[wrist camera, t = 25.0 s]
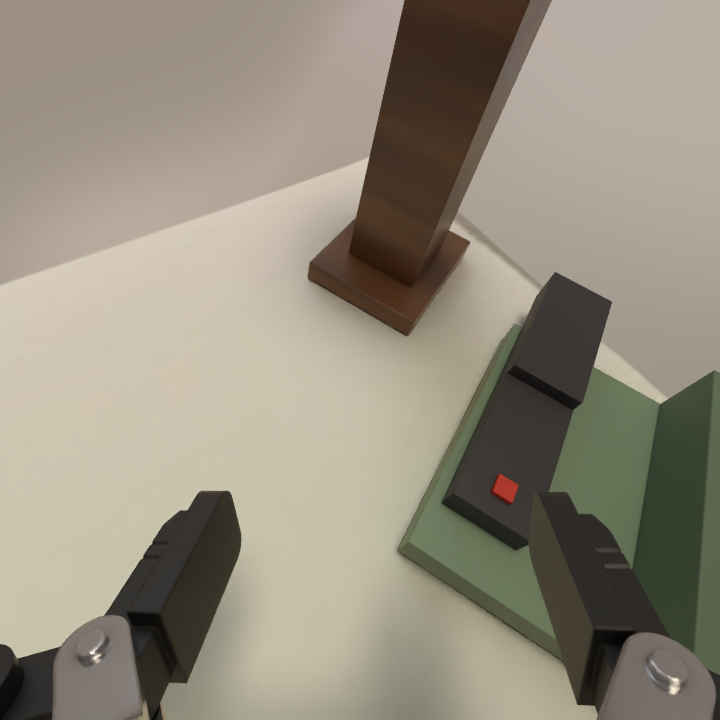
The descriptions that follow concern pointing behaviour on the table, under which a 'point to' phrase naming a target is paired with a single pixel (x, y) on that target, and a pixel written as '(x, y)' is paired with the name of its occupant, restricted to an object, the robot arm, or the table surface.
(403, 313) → the stand
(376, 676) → the table surface
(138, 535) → the table surface
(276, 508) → the table surface
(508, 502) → the remote
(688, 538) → the green l-shaped bookend
